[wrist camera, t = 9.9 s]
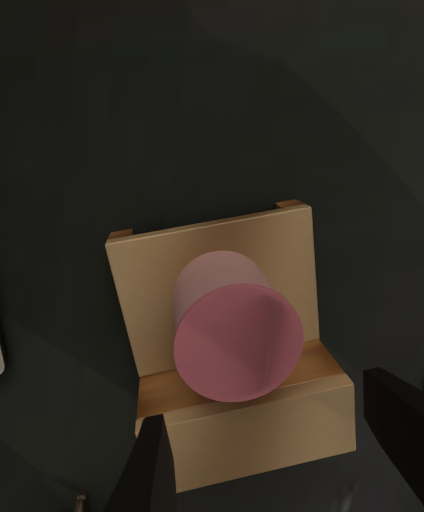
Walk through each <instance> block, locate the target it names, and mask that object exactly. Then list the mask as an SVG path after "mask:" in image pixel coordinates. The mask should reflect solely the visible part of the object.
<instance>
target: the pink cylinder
mask: <svg viewBox="0 0 424 512" xmlns="http://www.w3.org/2000/svg"><path fill="white" fill-rule="evenodd" d="M173 309H174V321H175V334H174V339H173V356H174V362H175V365H176V368H177V370H178V372H179V375H180V376H181V378H182V379H183V380H184V382H185V383H186V384H187V385H188V386H189V387H190V388H191V389H193V390H194V391H195V392H197V393H199V394H200V395H202V396H204V397H207V398H209V399H212V400H216V401H222V402H242V401H248V400H251V399H255V398H258V397H260V396H263V395H265V394H267V393H269V392H270V391H272V390H273V389H275V388H276V387H278V386H279V385H280V384H281V383H283V382H284V381H285V380H286V379H287V378H288V376H289V375H290V374H291V373H292V371H293V370H294V368H295V367H296V365H297V363H298V361H299V358H300V356H301V353H302V349H303V342H304V333H303V327H302V323H301V320H300V318H299V316H298V314H297V312H296V310H295V309H294V308H293V306H292V305H291V304H290V303H289V302H288V300H287V299H286V298H284V297H283V296H282V295H281V294H279V293H278V292H277V291H276V290H275V289H274V287H273V286H272V284H271V283H270V282H269V280H268V279H267V278H266V276H265V275H264V274H263V272H262V271H261V270H260V268H259V267H258V266H257V265H256V264H255V263H254V262H253V261H252V260H251V259H250V258H248V257H246V256H244V255H242V254H240V253H237V252H233V251H213V252H209V253H206V254H203V255H201V256H199V257H197V258H195V259H194V260H193V261H191V262H190V263H189V264H188V265H187V266H186V267H185V268H184V269H183V270H182V271H181V273H180V274H179V276H178V278H177V280H176V282H175V285H174V289H173Z"/></svg>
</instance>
